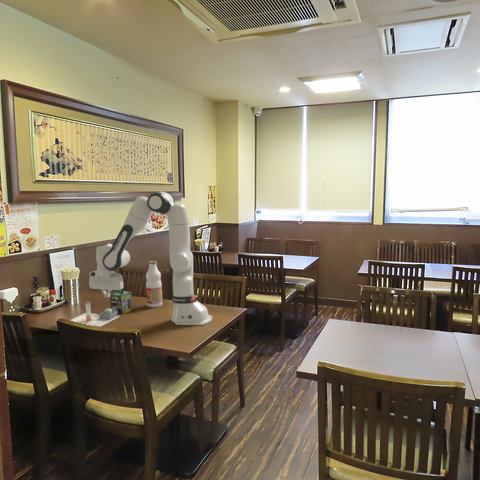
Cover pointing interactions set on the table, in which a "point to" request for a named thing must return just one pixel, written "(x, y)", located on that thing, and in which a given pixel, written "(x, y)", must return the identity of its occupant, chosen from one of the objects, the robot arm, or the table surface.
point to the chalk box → (121, 301)
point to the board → (96, 318)
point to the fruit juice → (153, 286)
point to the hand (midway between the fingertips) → (107, 296)
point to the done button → (108, 311)
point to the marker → (88, 311)
